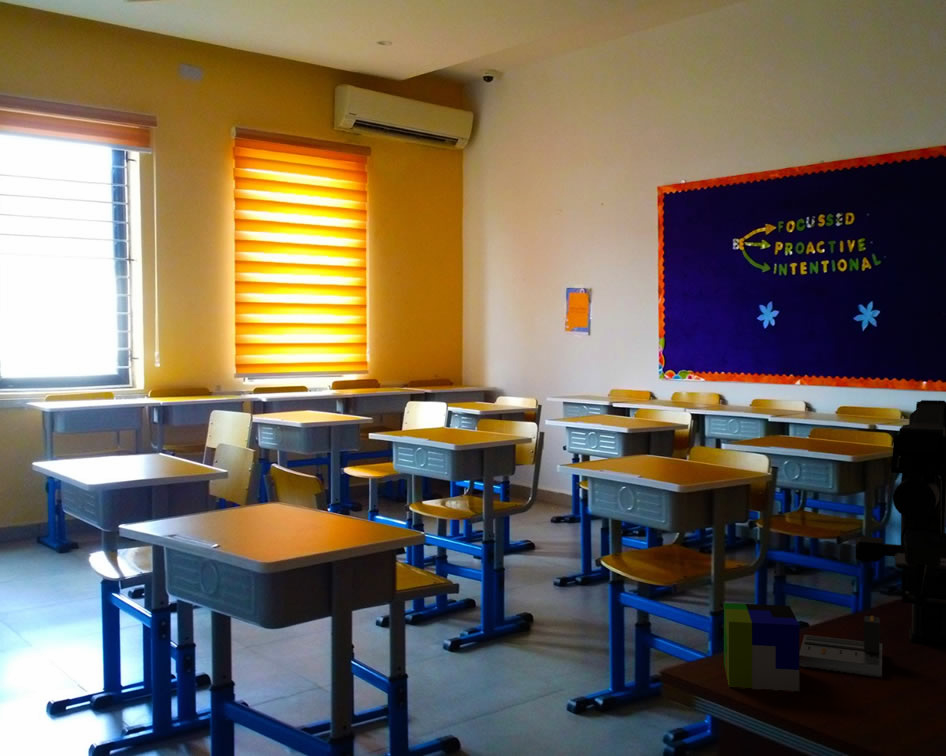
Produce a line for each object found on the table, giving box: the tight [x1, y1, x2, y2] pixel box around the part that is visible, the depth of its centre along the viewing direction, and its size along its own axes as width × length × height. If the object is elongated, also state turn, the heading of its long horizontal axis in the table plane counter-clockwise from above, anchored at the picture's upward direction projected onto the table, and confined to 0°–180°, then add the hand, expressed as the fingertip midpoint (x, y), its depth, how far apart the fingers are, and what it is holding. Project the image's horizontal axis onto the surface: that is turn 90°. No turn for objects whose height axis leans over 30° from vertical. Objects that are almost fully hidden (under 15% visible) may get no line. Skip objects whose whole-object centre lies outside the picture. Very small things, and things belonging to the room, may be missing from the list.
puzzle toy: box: [723, 602, 800, 692], centre depth 138 cm, size 10×10×10 cm
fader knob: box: [863, 615, 881, 653], centre depth 144 cm, size 3×2×5 cm
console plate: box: [799, 634, 883, 678], centre depth 145 cm, size 11×12×2 cm
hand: (920, 607), depth 141 cm, fingers closed
